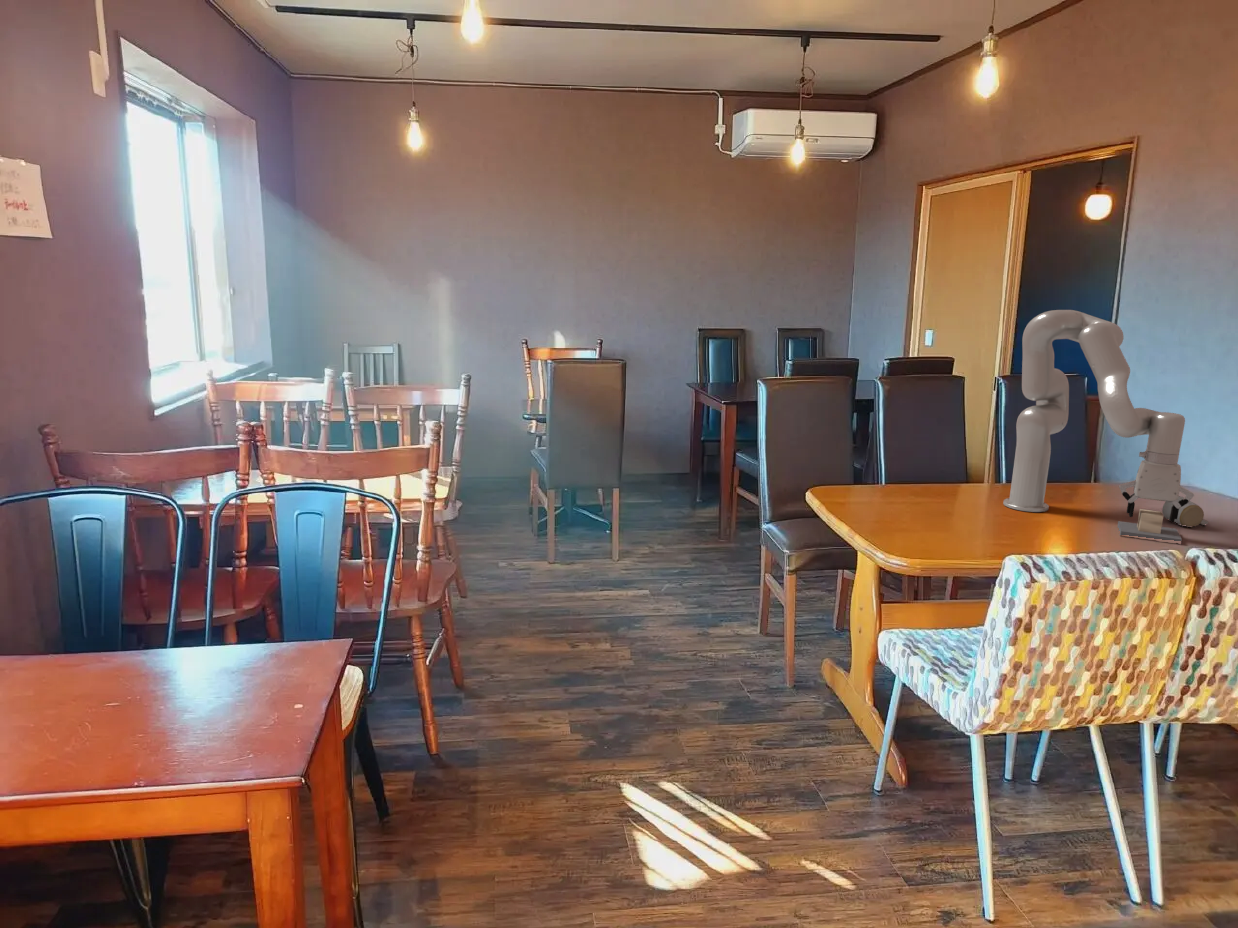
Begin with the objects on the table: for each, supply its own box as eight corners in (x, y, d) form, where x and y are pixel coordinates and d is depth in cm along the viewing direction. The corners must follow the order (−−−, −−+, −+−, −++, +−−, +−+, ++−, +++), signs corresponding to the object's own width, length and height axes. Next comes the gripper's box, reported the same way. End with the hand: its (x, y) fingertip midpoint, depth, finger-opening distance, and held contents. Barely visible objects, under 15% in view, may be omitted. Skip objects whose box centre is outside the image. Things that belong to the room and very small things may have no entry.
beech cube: (1137, 526, 228) (1140, 509, 227) (1158, 528, 226) (1161, 511, 224) (1138, 530, 223) (1141, 513, 222) (1160, 533, 221) (1163, 516, 220)
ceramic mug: (1178, 528, 231) (1184, 502, 230) (1159, 520, 239) (1164, 495, 238) (1214, 529, 232) (1220, 503, 230) (1194, 521, 240) (1199, 496, 238)
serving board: (1117, 526, 233) (1118, 521, 232) (1175, 533, 226) (1176, 528, 226) (1120, 536, 223) (1121, 531, 223) (1180, 544, 217) (1181, 539, 217)
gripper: (1125, 457, 220) (1115, 517, 224) (1202, 464, 213) (1190, 527, 217) (1123, 452, 227) (1113, 510, 231) (1197, 459, 219) (1186, 519, 223)
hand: (1150, 518), depth 224 cm, fingers open, 9 cm apart
